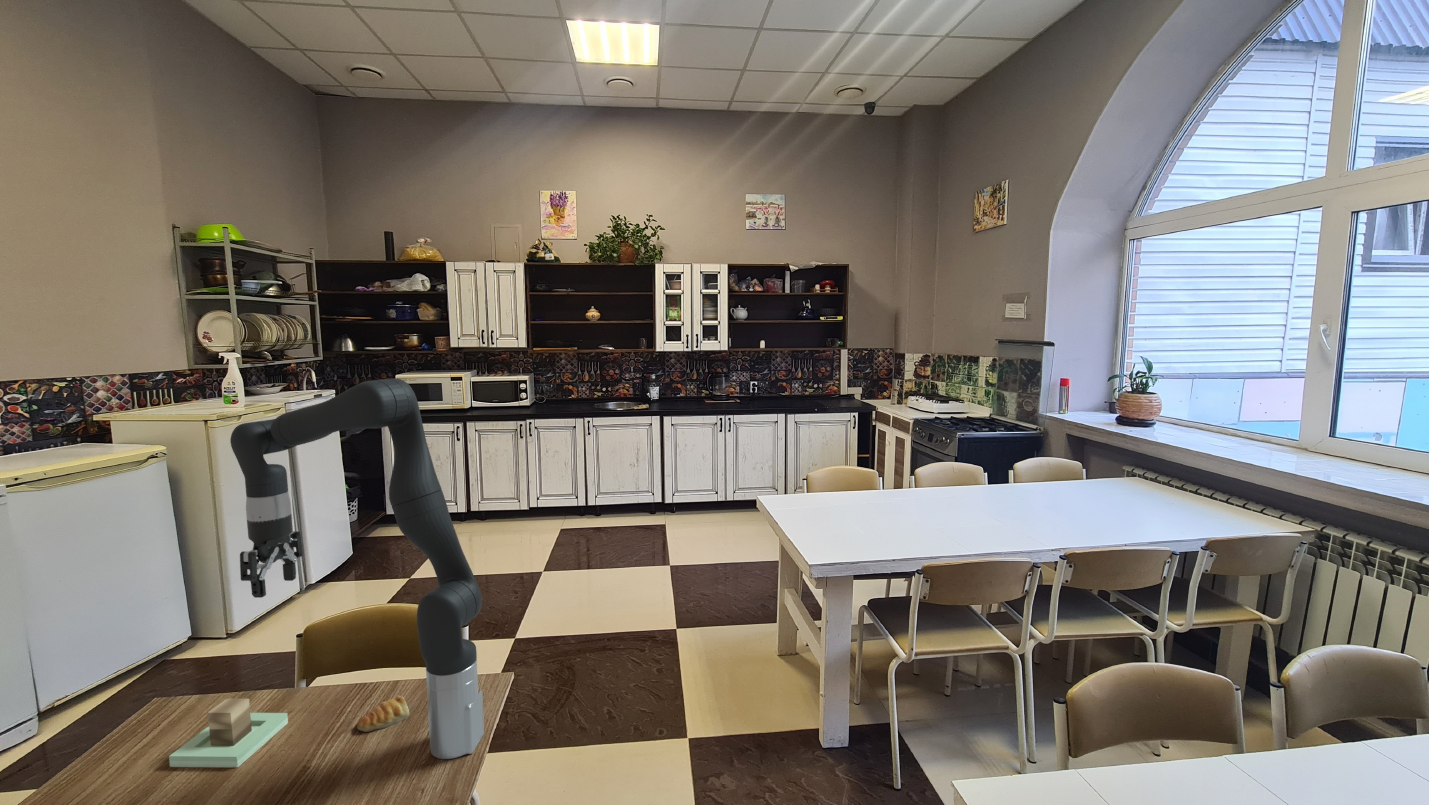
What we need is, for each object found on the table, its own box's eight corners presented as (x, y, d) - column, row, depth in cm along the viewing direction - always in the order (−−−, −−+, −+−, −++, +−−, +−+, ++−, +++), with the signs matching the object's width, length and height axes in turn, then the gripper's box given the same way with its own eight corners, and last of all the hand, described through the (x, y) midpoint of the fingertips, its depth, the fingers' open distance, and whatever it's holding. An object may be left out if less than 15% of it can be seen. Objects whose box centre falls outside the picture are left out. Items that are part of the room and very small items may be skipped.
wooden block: (251, 730, 119) (249, 698, 118) (233, 746, 115) (230, 712, 114) (230, 730, 119) (227, 698, 118) (210, 745, 115) (207, 712, 114)
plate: (288, 722, 123) (287, 713, 123) (237, 767, 110) (236, 756, 110) (227, 722, 124) (226, 712, 123) (170, 766, 111) (168, 756, 110)
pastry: (363, 740, 119) (362, 722, 118) (353, 725, 123) (351, 708, 123) (412, 717, 125) (411, 701, 125) (400, 705, 130) (399, 689, 130)
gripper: (260, 525, 116) (267, 603, 117) (310, 505, 130) (315, 574, 131) (223, 525, 116) (230, 603, 117) (277, 504, 130) (282, 574, 131)
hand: (275, 588), depth 124 cm, fingers open, 8 cm apart
